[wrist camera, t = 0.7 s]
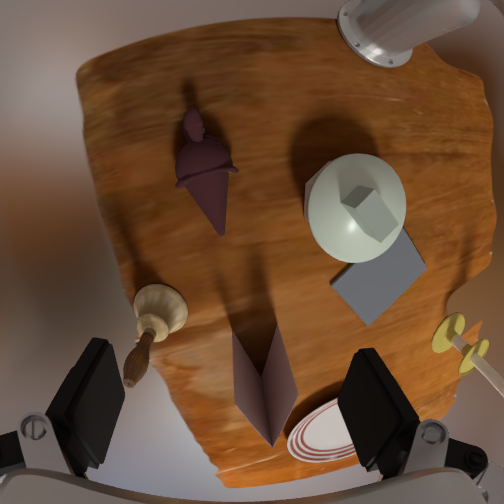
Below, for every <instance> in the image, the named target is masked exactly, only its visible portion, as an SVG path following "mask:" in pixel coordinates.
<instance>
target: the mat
mask: <svg viewBox="0 0 504 504" xmlns="http://www.w3.org/2000/svg"><path fill="white" fill-rule="evenodd" d="M426 268H427V267H426V266H425V264H424V262H423V260H422V258H421V257H420V255H419V253H418V252H417V250H416V248H415V246H414V245H413V243H412V241H411V240H410V238H409V237H408V235H407V233H406V232H405V230H404V228H403V227H402V229H401V231H400V233H399V235H398V237H397V238H396V240H395V241H394V243H393V244H392V245H391V246H390V247H389V248H388V249H387V250H386V251H385V252H384V253H382V254H381V255H379V256H378V257H376V258H374V259H371V260H369V261H365V262H359V263H352V264H351V265H350V266H349V267H348V268H347V269H346V270H345V271H344V272H343V273H342V274H341V275H339V276H338V277H337V278H336V279H335V280H334V281H333V282H332V283H331V284H330V285H331V286H332V287H333V288H334V289H335V291H336V292H337V293H338V294H339V295H340V296H341V297H342V298H343V299H344V300H345V301H346V302H347V304H348V305H349V306H350V307H351V308H352V309H353V310H354V311H355V312H356V313H357V315H358V316H359V317H360V318H361V319H362V320H363V321H364V322H365V323H366V325H367V326H369V325H370V324H371V323H372V322H373V321H374V320H375V319H376V318H378V317H379V316H380V315H381V314H382V313H383V312H384V311H385V310H386V309H387V308H388V307H389V306H390V305H391V304H392V303H393V302H394V301H395V300H396V299H398V298H399V297H400V296H401V295H402V294H403V293H404V292H405V290H406V289H407V288H408V287H409V286H410V285H411V284H412V283H413V282H414V281H415V280H416V279H417V278H418V277H419V276H420V275H421V274H422V273H423V272H424V271H425V269H426Z"/></svg>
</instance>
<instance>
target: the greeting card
mask: <svg viewBox="0 0 504 504" xmlns="http://www.w3.org/2000/svg"><path fill="white" fill-rule="evenodd" d="M232 346H233V373H234V397H235V405H236V406H237V408H238V409H239V410H240V411H241V413H242V414H243V415H244V416H245V417H246V419H247V420H248V421H249V422H250V423H251V425H252V426H253V427H254V428H255V429H256V430H257V432H258V433H259V434H260V435H261V436H262V437H263V439H264V440H265V441H266V442H267V443H268V444H269V445H270V446H271V447H272V448H273V447H274V445H275V443H276V441H277V439H278V437H279V436H280V434H281V431H282V429H283V427H284V425H285V423H286V421H287V419H288V417H289V415H290V413H291V411H292V409H293V407H294V405H295V402H296V400H297V398H298V396H299V395H298V391H297V388H296V384H295V381H294V378H293V374H292V371H291V367H290V364H289V361H288V357H287V354H286V350H285V347H284V343H283V340H282V337H281V333H280V330H279V326H278V324H277V327H276V330H275V334H274V337H273V340H272V344H271V347H270V350H269V354H268V357H267V360H266V364H265V367H264V370H263V373H262V376H260V375H259V373H258V372H257V370H256V368H255V367H254V365H253V363H252V362H251V360H250V359H249V357H248V355H247V354H246V352H245V350H244V349H243V347H242V345H241V344H240V342H239V340H238V339H237V337H236V335H235V333H234V332H233V330H232Z"/></svg>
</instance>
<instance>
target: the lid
mask: <svg viewBox="0 0 504 504" xmlns="http://www.w3.org/2000/svg"><path fill="white" fill-rule="evenodd" d="M405 214H406V198H405V192H404V189H403V185H402V183H401V181H400V179H399V177H398V175H397V174H396V172H395V171H394V170H393V169H392V168H391V167H390V166H389V165H388V164H387V163H386V162H384V161H383V160H381V159H379V158H378V157H375V156H372V155H368V154H348V155H344V156H341V157H338V158H336V159H334V160H333V161H331V162H330V163H328V164H327V165H326V166H325V167H324V168H323V169H322V170H321V171H320V172H319V173H318V175H317V176H316V178H315V180H314V181H313V183H312V186H311V188H310V191H309V195H308V199H307V220H308V224H309V228H310V230H311V233H312V235H313V237H314V238H315V240H316V241H317V243H318V244H319V245H320V246H321V247H322V248H323V249H324V250H325V251H326V252H327V253H328V254H330V255H331V256H332V257H334V258H336V259H338V260H341V261H344V262H349V263H359V262H365V261H369V260H371V259H374V258H376V257H378V256H379V255H381V254H382V253H384V252H385V251H386V250H387V249H388V248H389V247H390V246H391V245H392V244H393V243H394V241H395V240H396V238H397V237H398V235H399V233H400V231H401V229H402V226H403V223H404V219H405Z"/></svg>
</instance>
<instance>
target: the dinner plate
mask: <svg viewBox="0 0 504 504" xmlns="http://www.w3.org/2000/svg"><path fill="white" fill-rule="evenodd" d="M337 398H338V397H337ZM337 398H335V399H333V400H331V401H329V402H327V403H325V404H324V405H322V406H320V407H318V408H317V409H315V410H314V411H312V412H311V413H310V414H308V415H307V416H306V417H304V418H303V419H302V420H301V421H300V422H299V423H298V424H297V425H296V426H295V427H294V429H293V430H292V431H291V433H290V435H289V437H288V440H287V448H288V450H289V452H290V453H291V455H293V456H294V457H295V458H297V459H299V460H302V461H307V462H327V461H333V460H338V459H342V458H345V457H348V456H351V455H353V454H356V451H355V448H354V445H353V443H352V440H351V438H350V435H349V432H348V430H347V427H346V425H345V422H344V420H343V417H342V415H341V412H340V410H339V407H338V404H337Z"/></svg>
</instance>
